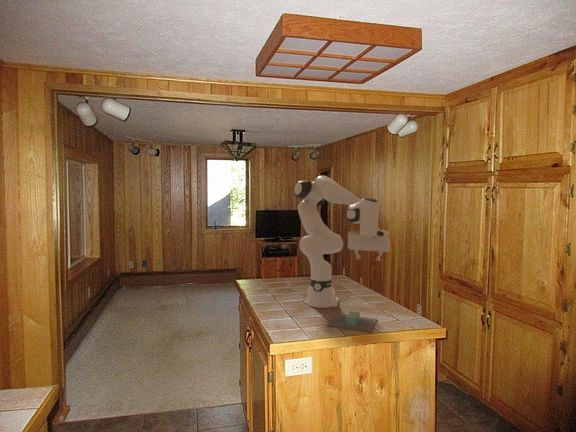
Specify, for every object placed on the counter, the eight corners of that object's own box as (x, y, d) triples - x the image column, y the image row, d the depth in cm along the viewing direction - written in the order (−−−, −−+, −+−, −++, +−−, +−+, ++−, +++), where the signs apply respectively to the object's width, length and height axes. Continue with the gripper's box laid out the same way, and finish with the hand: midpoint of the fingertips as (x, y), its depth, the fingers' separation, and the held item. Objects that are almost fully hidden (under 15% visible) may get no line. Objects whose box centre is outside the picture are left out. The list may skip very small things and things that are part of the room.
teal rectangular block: (345, 324, 178) (345, 316, 178) (350, 318, 186) (350, 311, 186) (354, 325, 176) (355, 318, 176) (359, 319, 185) (359, 312, 184)
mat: (336, 314, 193) (336, 313, 193) (377, 320, 186) (377, 319, 186) (326, 325, 177) (326, 324, 177) (370, 332, 169) (370, 331, 169)
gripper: (346, 231, 186) (345, 259, 187) (389, 233, 179) (388, 262, 179) (349, 229, 192) (348, 257, 193) (391, 232, 184) (390, 260, 185)
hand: (368, 259), depth 186 cm, fingers open, 8 cm apart
